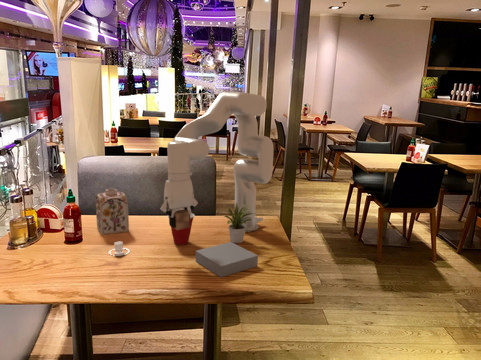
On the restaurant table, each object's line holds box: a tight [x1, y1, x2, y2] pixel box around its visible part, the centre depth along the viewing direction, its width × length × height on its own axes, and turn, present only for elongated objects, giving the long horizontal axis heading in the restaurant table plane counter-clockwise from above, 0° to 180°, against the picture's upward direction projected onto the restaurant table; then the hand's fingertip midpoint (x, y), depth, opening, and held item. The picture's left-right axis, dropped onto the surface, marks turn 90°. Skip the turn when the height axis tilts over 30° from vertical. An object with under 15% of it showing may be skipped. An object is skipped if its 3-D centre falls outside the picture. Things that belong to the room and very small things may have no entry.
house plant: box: [223, 202, 256, 244], centre depth 166 cm, size 14×14×16 cm
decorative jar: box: [95, 188, 130, 236], centre depth 176 cm, size 12×12×18 cm
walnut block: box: [174, 208, 189, 230], centre depth 146 cm, size 5×5×6 cm
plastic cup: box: [167, 212, 196, 246], centre depth 164 cm, size 11×11×12 cm
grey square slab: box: [194, 241, 259, 278], centre depth 146 cm, size 16×16×4 cm
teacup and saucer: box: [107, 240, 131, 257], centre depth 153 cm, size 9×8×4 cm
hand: (179, 224), depth 147 cm, fingers closed on walnut block, 5 cm apart
